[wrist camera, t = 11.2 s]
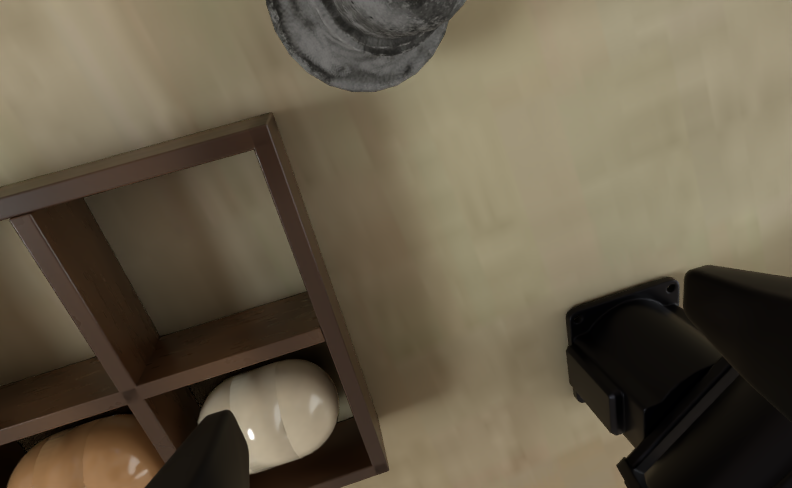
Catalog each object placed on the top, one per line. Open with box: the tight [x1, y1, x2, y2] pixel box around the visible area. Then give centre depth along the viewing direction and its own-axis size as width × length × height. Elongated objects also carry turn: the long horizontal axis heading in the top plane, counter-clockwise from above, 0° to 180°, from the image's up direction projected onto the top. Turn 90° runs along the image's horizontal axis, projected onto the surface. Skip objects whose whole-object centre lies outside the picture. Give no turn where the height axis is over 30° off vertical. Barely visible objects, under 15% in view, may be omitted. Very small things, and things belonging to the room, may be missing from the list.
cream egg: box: [197, 359, 339, 475], centre depth 21 cm, size 6×4×4 cm
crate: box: [0, 113, 389, 488], centre depth 20 cm, size 17×17×4 cm
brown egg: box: [7, 414, 165, 488], centre depth 21 cm, size 6×4×4 cm
